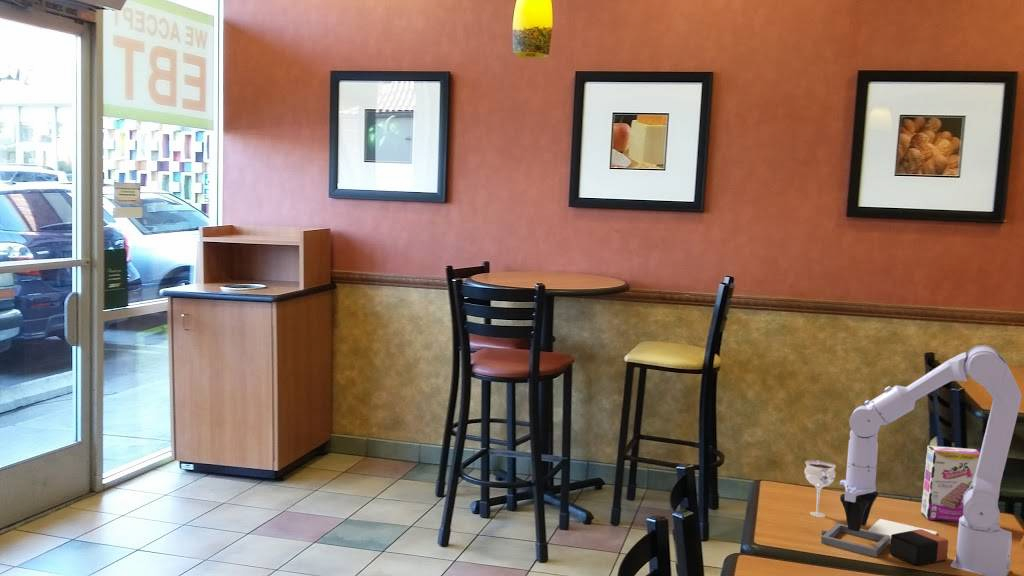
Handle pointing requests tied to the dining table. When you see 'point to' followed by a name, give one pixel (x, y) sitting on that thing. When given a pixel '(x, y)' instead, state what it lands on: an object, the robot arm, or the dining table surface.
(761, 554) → the dining table surface
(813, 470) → the wineglass
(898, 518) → the dining table surface
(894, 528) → the mat
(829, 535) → the frame
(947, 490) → the candy bar box
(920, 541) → the battery
